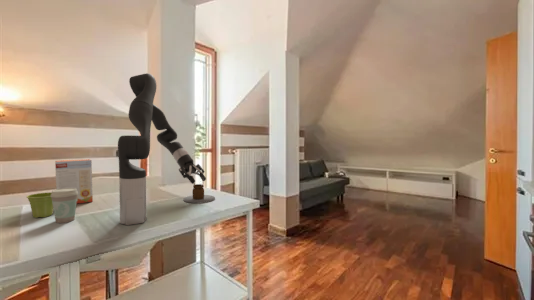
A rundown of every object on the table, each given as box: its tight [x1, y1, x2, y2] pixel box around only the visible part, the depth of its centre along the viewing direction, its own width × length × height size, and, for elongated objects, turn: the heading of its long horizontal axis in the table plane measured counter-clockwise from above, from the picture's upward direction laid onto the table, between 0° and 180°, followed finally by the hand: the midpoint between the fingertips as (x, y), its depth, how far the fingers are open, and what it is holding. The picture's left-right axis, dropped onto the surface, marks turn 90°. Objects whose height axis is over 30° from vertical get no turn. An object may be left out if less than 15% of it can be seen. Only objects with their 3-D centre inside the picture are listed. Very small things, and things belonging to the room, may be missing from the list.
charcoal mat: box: [183, 194, 216, 204], centre depth 140 cm, size 16×16×1 cm
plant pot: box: [26, 191, 54, 218], centre depth 108 cm, size 9×9×9 cm
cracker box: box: [54, 158, 94, 205], centre depth 128 cm, size 14×6×21 cm, turn 130°
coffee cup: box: [50, 188, 78, 224], centre depth 103 cm, size 8×9×12 cm
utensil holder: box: [191, 175, 205, 199], centre depth 139 cm, size 6×6×12 cm
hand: (199, 181), depth 139 cm, fingers open, 8 cm apart
